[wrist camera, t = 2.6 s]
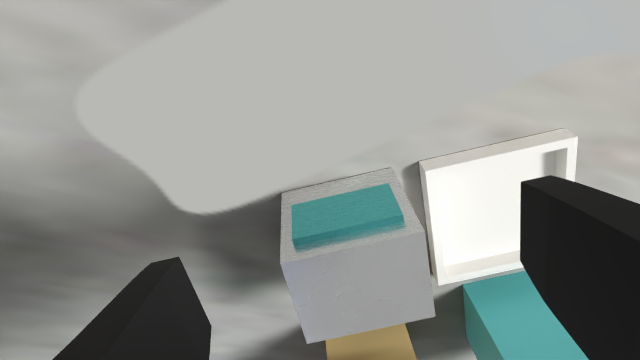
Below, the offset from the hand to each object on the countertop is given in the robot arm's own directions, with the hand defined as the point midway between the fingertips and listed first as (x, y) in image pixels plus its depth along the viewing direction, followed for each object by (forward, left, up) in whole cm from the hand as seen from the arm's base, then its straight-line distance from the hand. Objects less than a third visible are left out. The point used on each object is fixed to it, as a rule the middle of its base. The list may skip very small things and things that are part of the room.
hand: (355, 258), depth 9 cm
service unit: (-5, 0, -9) cm, 11 cm away
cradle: (-6, -7, -9) cm, 13 cm away
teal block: (-13, -7, -10) cm, 17 cm away
